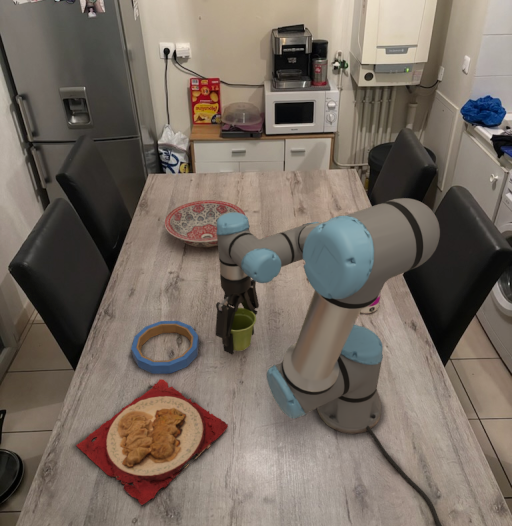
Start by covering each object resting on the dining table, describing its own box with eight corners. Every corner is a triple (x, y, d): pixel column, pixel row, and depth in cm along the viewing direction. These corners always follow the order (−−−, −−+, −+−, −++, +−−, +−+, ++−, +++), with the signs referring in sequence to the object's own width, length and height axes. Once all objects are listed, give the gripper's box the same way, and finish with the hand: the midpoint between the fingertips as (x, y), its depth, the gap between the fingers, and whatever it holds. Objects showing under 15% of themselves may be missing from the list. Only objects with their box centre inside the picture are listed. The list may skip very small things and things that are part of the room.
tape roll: (195, 373, 139) (194, 364, 137) (128, 374, 139) (126, 365, 137) (200, 328, 154) (200, 320, 152) (140, 329, 154) (138, 321, 152)
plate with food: (229, 430, 124) (229, 420, 122) (143, 509, 108) (141, 498, 106) (162, 382, 137) (160, 372, 135) (76, 445, 121) (73, 435, 119)
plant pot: (256, 355, 139) (255, 330, 134) (220, 356, 139) (218, 330, 135) (257, 332, 147) (256, 307, 142) (223, 332, 147) (221, 307, 142)
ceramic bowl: (262, 243, 191) (262, 223, 186) (191, 270, 177) (189, 250, 173) (220, 211, 211) (219, 193, 206) (153, 233, 197) (150, 214, 193)
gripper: (248, 249, 139) (250, 316, 152) (195, 289, 125) (203, 360, 137) (271, 257, 136) (272, 325, 148) (220, 300, 121) (226, 371, 134)
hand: (239, 342), depth 143 cm, fingers closed on plant pot, 8 cm apart
